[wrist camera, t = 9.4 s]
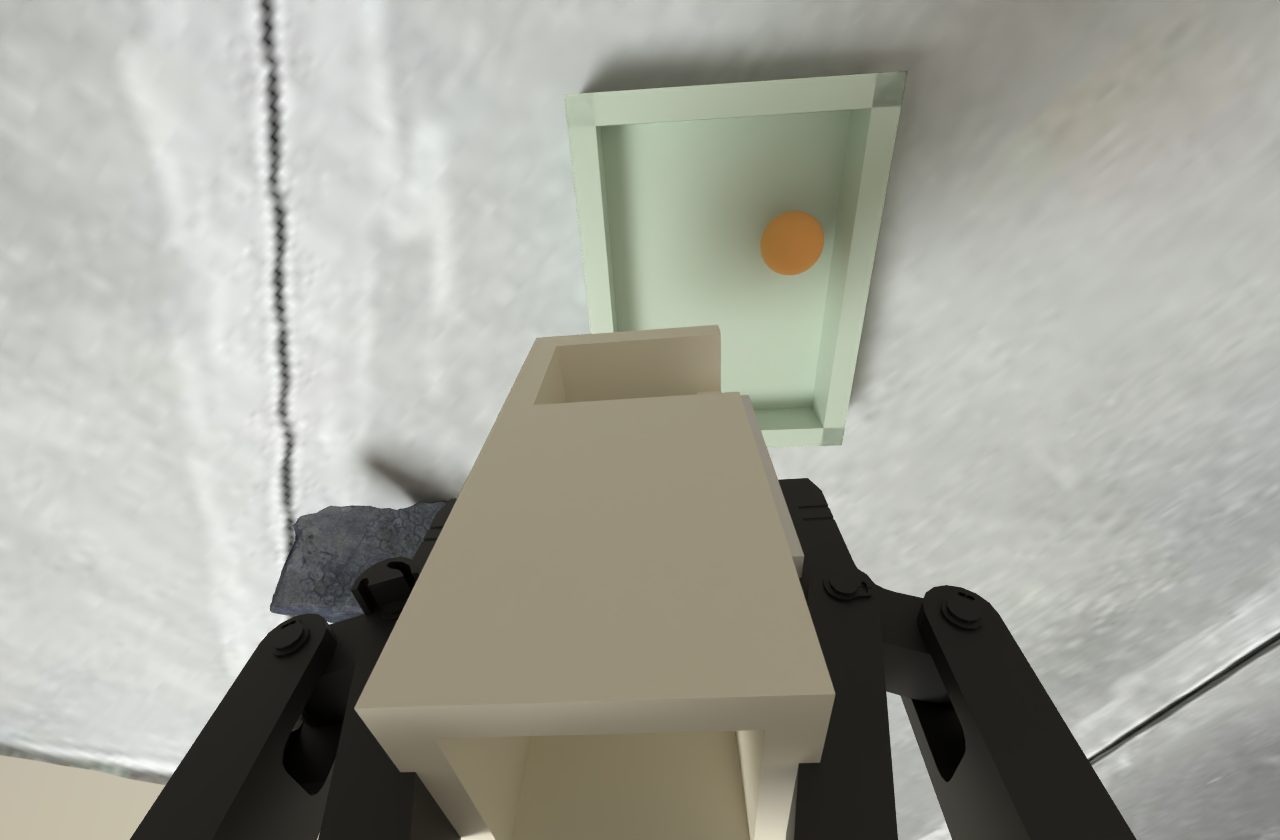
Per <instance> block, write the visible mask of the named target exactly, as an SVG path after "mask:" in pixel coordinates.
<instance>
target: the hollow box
mask: <svg viewBox="0 0 1280 840" xmlns="http://www.w3.org/2000/svg"><path fill="white" fill-rule="evenodd" d="M834 699H835V691H834V688H833V684H832V681H831V678H830V675H829V672H828V669H827V666H826V662H825V659H824V656H823V653H822V650H821V647H820V644H819V640H818V637H817V634H816V631H815V628H814V625H813V622H812V619H811V615H810V612H809V609H808V606H807V603H806V600H805V597H804V593H803V590H802V587H801V584H800V581H799V578H798V575H797V571H796V568H795V565H794V562H793V559H792V556H791V553H790V549H789V546H788V543H787V540H786V537H785V534H784V531H783V527H782V524H781V521H780V518H779V515H778V512H777V509H776V505H775V502H774V499H773V496H772V493H771V490H770V487H769V483H768V480H767V477H766V474H765V471H764V468H763V465H762V461H761V458H760V455H759V452H758V449H757V446H756V443H755V439H754V436H753V433H752V430H751V427H750V424H749V421H748V417H747V414H746V411H745V408H744V405H743V402H742V399H741V395H740V392H725V393H721V333H720V329H719V326H718V325H706V326H693V327H679V328H665V329H652V330H638V331H625V332H611V333H597V334H584V335H570V336H557V337H543V338H536V340H535V342H534V344H533V346H532V348H531V350H530V352H529V354H528V356H527V358H526V360H525V362H524V364H523V366H522V368H521V370H520V372H519V374H518V376H517V378H516V380H515V382H514V384H513V387H512V389H511V391H510V393H509V395H508V397H507V399H506V401H505V403H504V405H503V407H502V409H501V411H500V413H499V415H498V417H497V419H496V421H495V423H494V425H493V427H492V429H491V431H490V433H489V435H488V437H487V439H486V441H485V443H484V445H483V447H482V450H481V452H480V454H479V456H478V458H477V460H476V462H475V464H474V466H473V468H472V470H471V472H470V474H469V476H468V478H467V480H466V482H465V484H464V486H463V488H462V490H461V492H460V494H459V496H458V498H457V500H456V502H455V504H454V506H453V508H452V510H451V513H450V515H449V517H448V519H447V521H446V523H445V525H444V527H443V529H442V531H441V533H440V535H439V537H438V539H437V541H436V543H435V545H434V547H433V549H432V551H431V553H430V555H429V557H428V559H427V561H426V563H425V565H424V567H423V569H422V571H421V573H420V576H419V578H418V580H417V582H416V584H415V586H414V588H413V590H412V592H411V594H410V596H409V598H408V600H407V602H406V604H405V606H404V608H403V610H402V612H401V614H400V616H399V618H398V620H397V622H396V624H395V626H394V628H393V630H392V632H391V634H390V636H389V639H388V641H387V643H386V645H385V647H384V649H383V651H382V653H381V655H380V657H379V659H378V661H377V663H376V665H375V667H374V669H373V671H372V673H371V675H370V677H369V679H368V681H367V683H366V685H365V687H364V689H363V691H362V693H361V695H360V697H359V699H358V702H357V704H356V706H355V708H354V709H355V711H356V712H357V713H358V715H359V716H360V717H361V719H362V720H363V722H364V723H365V724H366V726H367V727H368V728H369V730H370V731H371V733H372V734H373V735H374V737H375V738H376V739H377V741H378V742H379V744H380V745H381V746H382V748H383V749H384V750H385V752H386V753H387V755H388V756H389V757H390V759H391V760H392V761H393V763H394V764H395V765H396V767H397V768H398V770H399V771H400V772H416V773H417V775H418V776H419V778H420V779H421V781H422V782H423V784H424V785H425V786H426V788H427V789H428V791H429V792H430V794H431V795H432V797H433V798H434V799H435V801H436V802H437V804H438V805H439V807H440V808H441V810H442V811H443V812H444V814H445V815H446V817H447V818H448V820H449V821H450V823H451V824H452V825H453V827H454V828H455V830H456V831H457V833H458V834H459V836H460V837H461V840H786V831H787V825H788V820H789V814H790V808H791V803H792V797H793V792H794V786H795V780H796V775H797V769H798V764H799V763H820V760H821V756H822V752H823V747H824V743H825V738H826V734H827V730H828V725H829V721H830V716H831V712H832V708H833V703H834Z"/></svg>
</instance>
